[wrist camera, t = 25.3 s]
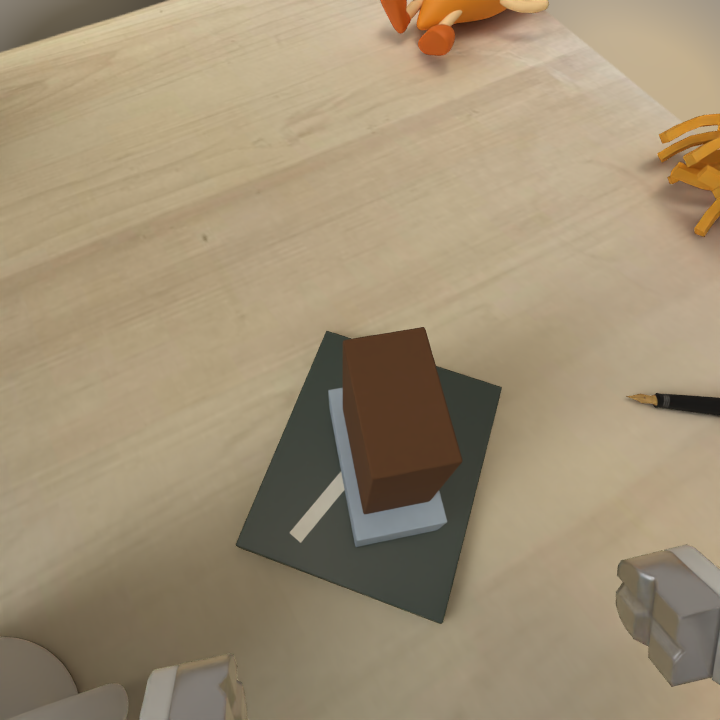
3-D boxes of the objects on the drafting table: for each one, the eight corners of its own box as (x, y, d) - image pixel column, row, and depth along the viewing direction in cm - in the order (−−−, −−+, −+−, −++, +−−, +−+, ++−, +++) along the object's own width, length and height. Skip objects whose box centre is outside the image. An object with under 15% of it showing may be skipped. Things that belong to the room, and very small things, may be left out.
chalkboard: (237, 547, 25) (235, 545, 25) (326, 336, 30) (326, 330, 30) (439, 623, 24) (442, 624, 24) (498, 392, 29) (502, 386, 28)
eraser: (355, 547, 25) (362, 515, 16) (329, 407, 28) (323, 317, 19) (438, 530, 25) (488, 489, 17) (404, 394, 28) (431, 300, 19)
